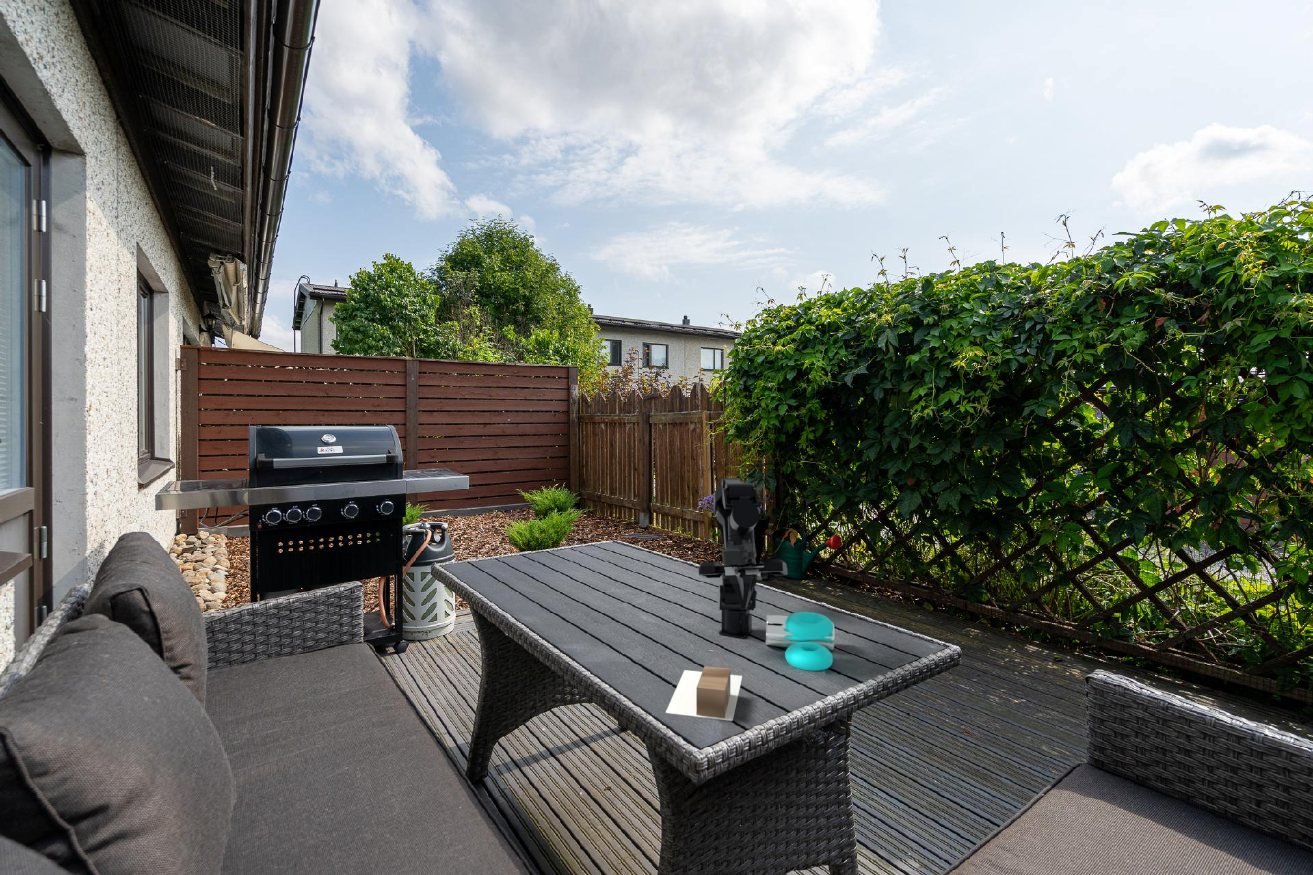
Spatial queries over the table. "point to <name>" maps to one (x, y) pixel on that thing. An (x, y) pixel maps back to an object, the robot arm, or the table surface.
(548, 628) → the table surface
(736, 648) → the table surface
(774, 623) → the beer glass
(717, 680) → the walnut block
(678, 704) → the white mat
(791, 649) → the donuts
